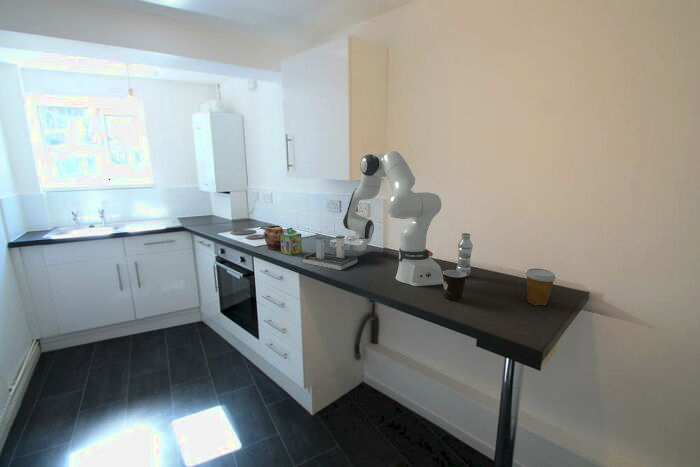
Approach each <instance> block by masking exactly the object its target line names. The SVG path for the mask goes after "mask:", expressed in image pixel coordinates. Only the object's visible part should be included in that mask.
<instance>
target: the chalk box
mask: <svg viewBox="0 0 700 467" xmlns="http://www.w3.org/2000/svg"><path fill="white" fill-rule="evenodd" d="M293 230H294V229H293V227H288V228H286V232H284V234H280V240H281V249H280V254H283V255H284V254H285V255H289V256H294V255H298V254H300V253H303V249H302V248H303V246H302V245H303V243H302V242H303V241H302V240H303V239H302V238H303V237H302V233H299V232H294V231H293Z"/></svg>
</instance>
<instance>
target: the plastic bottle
mask: <svg viewBox="0 0 700 467" xmlns="http://www.w3.org/2000/svg"><path fill="white" fill-rule="evenodd" d="M457 246H458V247H457V250H458V251H457V252H458V254H457V255H458V258H457V265H456V269H455V270H458V271H462V272H464V273H466V278H467V277H470V275H471V273H472V270H471V256H472V251H473V248H474V245H473V243H472V241H471V234H470V233H468V232H466V233H465V232H464V233H461V239H460V240H459V242H458V244H457Z"/></svg>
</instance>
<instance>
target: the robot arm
mask: <svg viewBox="0 0 700 467" xmlns="http://www.w3.org/2000/svg"><path fill="white" fill-rule="evenodd" d="M359 167H360V171H361V176H360V181H359V185H358V187H356V188H355V189H354V190H353V192H352V194H351V197H350V199H349V203H348V207H347V210H346V213H345V215H344V217H343V221H342V224H343V226H344V228H345V229H346V230H350V231H353V232H355V233H353V234H349V235H348V236H346V238H344V246H342V250H344V251H345V250H347V251H351V252H364V251H366V250H367V246H368V244H370V243H371V241H372V238H373V237H372V236H373V234H374V230H375V226H374V222H373V221H372V219H369V218H367V217H366V216H362V215H359V214H357V210H358V206H359V203H360V201H367V200H372V199H374V198H376V197H377V196H378V194H379V192H380V189H381V184H382V178H384V177H386V179H387V180H388V183H389V185H390V188H391V190H392V193H391V194H392V195H391V196H390V197H389V198H388V200H387V203H386V204H387V205H386V209H387V213H388V214H389V216H390V217H391V218H394V219H400V220H408V219H410V220H409V222H408V224H407V225H406V226H404V228H402V229H401V232H400V246H399V251H398V268H397V273H396V275H395V279H396V281H398V282H400V283H403V284H407V285H411V286H413V287H423V286H424V287H426V286H435V285H437V286H438V285H444V284H443V270H442V269H441V266H440V265H439V264H438V263H437V262H436V261H435V260H433V259H432V258H431V257H433V256H434V253H433V252H432V251H431V250H429V249H427V248H426V245H427V236H428V235H427V234H428V231H429V228H430V225H431V222H432V221H433V219H434V218H435V217H436V216H437V214H439V213H440V211H441V210H442V209H441V208H442V199H441V197H440V196H439V195H438V194H436V193H432V192H427V191H425V192H415V191H413V190H412V189H413V188H414V186H415V183H416V177H415V175H414V174H413V172H412V170H411V168H410V166H409V164H408V162H407V161H406V160H405V158H404V157H403V156H402V155H401V154H400V153H399V152H398V151H396V150H391V151H388V152H387V153H375V154H372V153H370V154H366V155H363V157H362V158H361V160H360V166H359ZM329 247H330V248H334V249H335V250H336V238H334V239H330V240H329Z"/></svg>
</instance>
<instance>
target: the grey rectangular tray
mask: <svg viewBox="0 0 700 467" xmlns="http://www.w3.org/2000/svg"><path fill="white" fill-rule="evenodd" d="M302 260H303V263H304V264H308V265H312V266H313V265H314V266H317V265H318V267H322V266H323V268H327V267H328V268H327V269H332V268H333V270H338V271H342V270H344V269H346V268H349V267H351V266H353V265H355V264H357V263H358V261H359V260H358V256H357V255H355V256H349V255H348V256H347V255H344V258H339V257H336V253H332V252H325V251H324V259H320V258H316V251H315V252H312V253H309V254H306V255H304V256H303V258H302Z"/></svg>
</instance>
